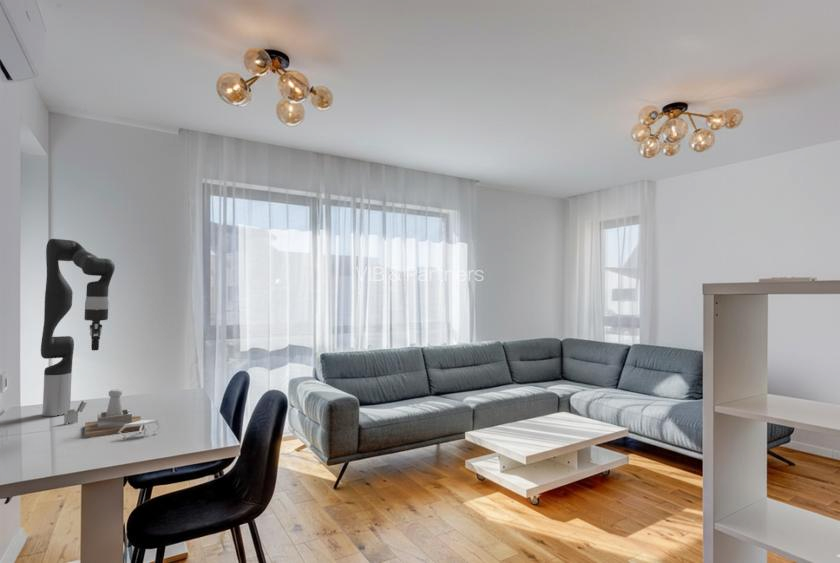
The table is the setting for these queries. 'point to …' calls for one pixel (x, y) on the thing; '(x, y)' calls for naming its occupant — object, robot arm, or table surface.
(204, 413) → the table surface
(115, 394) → the salt shaker
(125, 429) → the wooden base with frame
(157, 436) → the table surface
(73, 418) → the lighter
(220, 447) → the table surface
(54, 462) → the table surface
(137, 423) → the white bent open piece
